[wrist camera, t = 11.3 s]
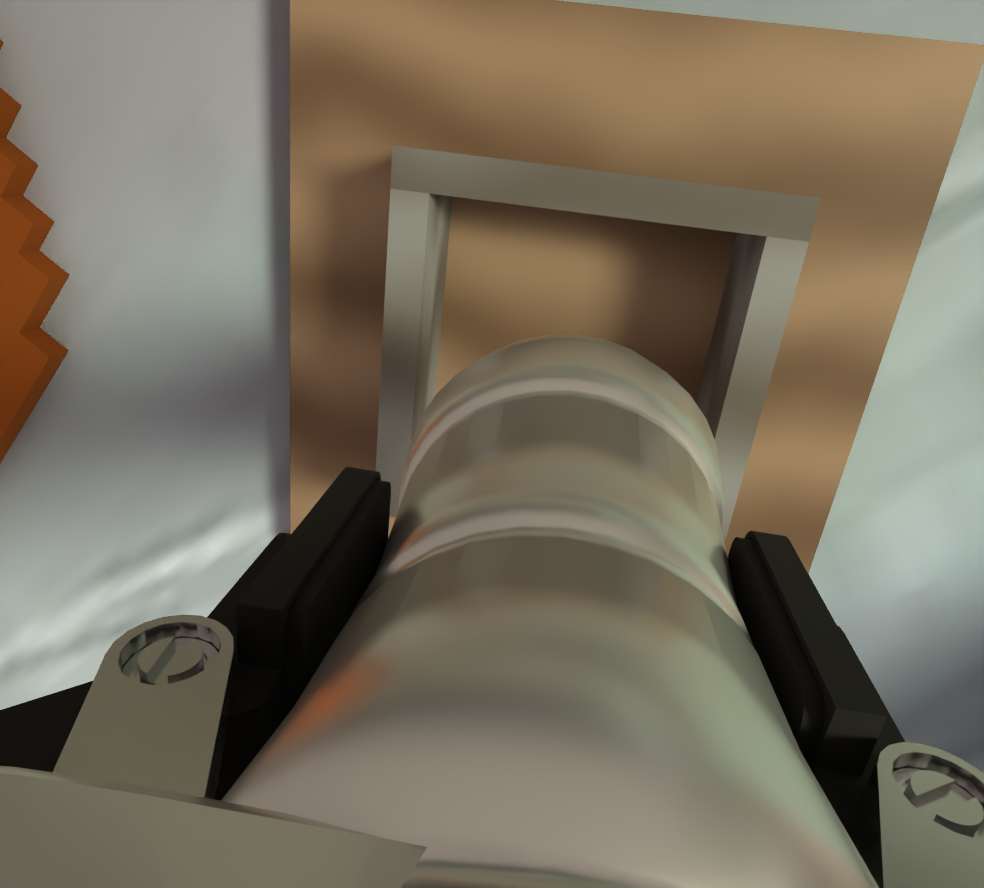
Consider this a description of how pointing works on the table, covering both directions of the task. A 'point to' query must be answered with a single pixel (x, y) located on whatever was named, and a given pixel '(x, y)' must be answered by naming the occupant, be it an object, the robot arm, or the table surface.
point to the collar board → (607, 220)
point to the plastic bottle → (558, 655)
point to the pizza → (23, 288)
